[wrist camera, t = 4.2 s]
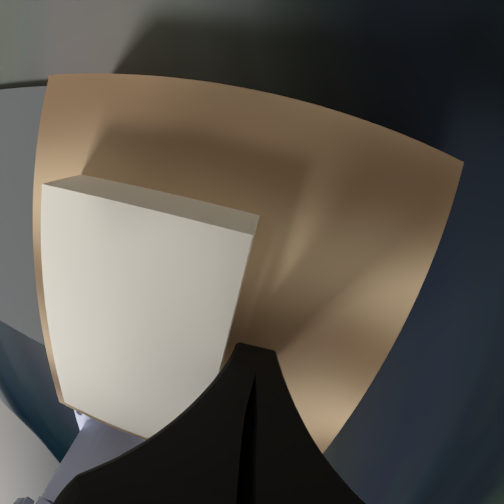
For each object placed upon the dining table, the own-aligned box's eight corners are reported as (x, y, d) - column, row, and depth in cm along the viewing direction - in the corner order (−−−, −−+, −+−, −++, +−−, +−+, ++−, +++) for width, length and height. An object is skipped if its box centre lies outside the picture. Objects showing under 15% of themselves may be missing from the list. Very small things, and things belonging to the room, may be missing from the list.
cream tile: (208, 418, 12) (198, 454, 10) (85, 374, 12) (64, 402, 10) (259, 215, 9) (253, 235, 7) (81, 174, 9) (41, 183, 7)
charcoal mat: (83, 359, 17) (80, 362, 17) (-30, 296, 17) (-33, 298, 17) (96, 86, 11) (91, 85, 11) (-34, 95, 12) (-38, 95, 11)
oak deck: (304, 422, 17) (305, 475, 13) (89, 362, 17) (59, 402, 13) (415, 155, 11) (464, 162, 7) (104, 86, 11) (49, 74, 8)
